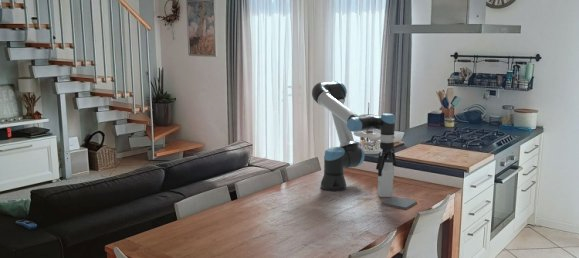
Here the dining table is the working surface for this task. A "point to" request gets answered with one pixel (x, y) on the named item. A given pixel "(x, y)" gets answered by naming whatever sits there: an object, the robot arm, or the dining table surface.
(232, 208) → the dining table surface
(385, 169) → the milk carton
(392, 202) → the slate board
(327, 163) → the robot arm
